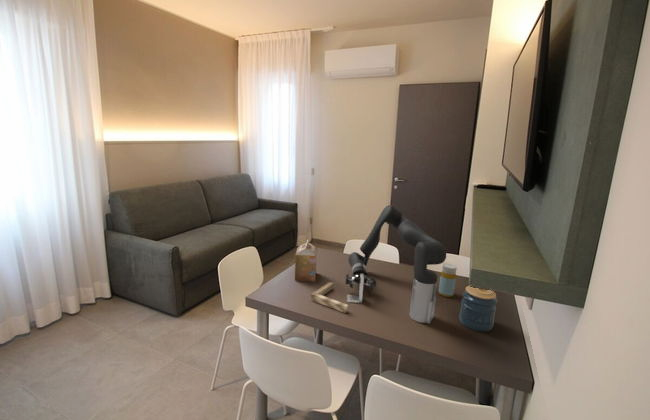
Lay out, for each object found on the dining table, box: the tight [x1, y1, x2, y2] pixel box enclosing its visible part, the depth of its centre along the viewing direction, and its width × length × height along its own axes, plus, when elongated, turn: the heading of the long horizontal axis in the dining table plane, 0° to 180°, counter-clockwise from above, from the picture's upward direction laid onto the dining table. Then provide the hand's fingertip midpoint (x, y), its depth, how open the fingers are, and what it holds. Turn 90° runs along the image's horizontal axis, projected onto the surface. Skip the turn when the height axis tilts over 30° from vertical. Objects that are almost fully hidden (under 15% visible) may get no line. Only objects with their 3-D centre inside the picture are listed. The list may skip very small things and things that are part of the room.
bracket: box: [346, 274, 364, 304], centre depth 142 cm, size 7×5×12 cm
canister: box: [458, 285, 499, 332], centre depth 128 cm, size 13×13×18 cm
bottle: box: [438, 263, 457, 298], centre depth 152 cm, size 7×7×15 cm
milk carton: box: [294, 239, 318, 282], centre depth 164 cm, size 11×11×19 cm
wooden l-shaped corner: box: [310, 281, 349, 314], centre depth 143 cm, size 18×16×3 cm
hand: (361, 287), depth 141 cm, fingers open, 8 cm apart
